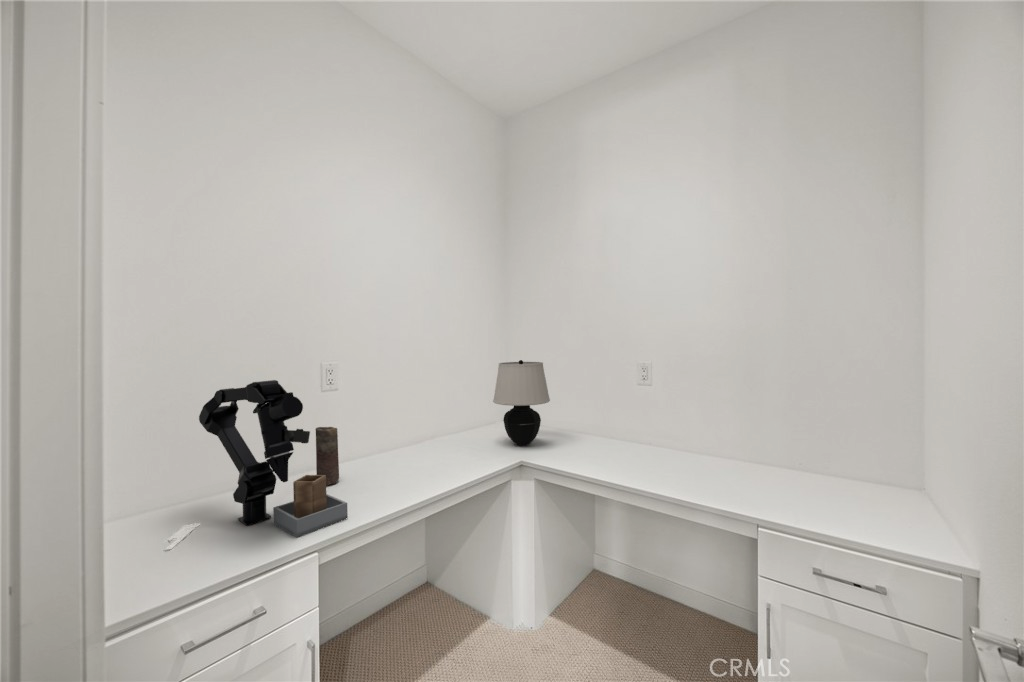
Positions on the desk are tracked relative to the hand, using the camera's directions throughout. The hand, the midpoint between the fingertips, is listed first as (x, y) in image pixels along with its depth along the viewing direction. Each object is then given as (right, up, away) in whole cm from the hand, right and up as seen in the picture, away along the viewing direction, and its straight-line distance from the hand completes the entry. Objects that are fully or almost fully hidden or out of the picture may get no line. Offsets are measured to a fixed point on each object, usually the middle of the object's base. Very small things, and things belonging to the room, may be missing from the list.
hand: (284, 481), depth 113 cm
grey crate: (+5, -12, +4) cm, 14 cm away
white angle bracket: (-26, -14, -5) cm, 30 cm away
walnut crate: (+5, -11, +4) cm, 13 cm away
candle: (-4, -13, +35) cm, 38 cm away
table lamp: (+67, -11, +84) cm, 108 cm away
